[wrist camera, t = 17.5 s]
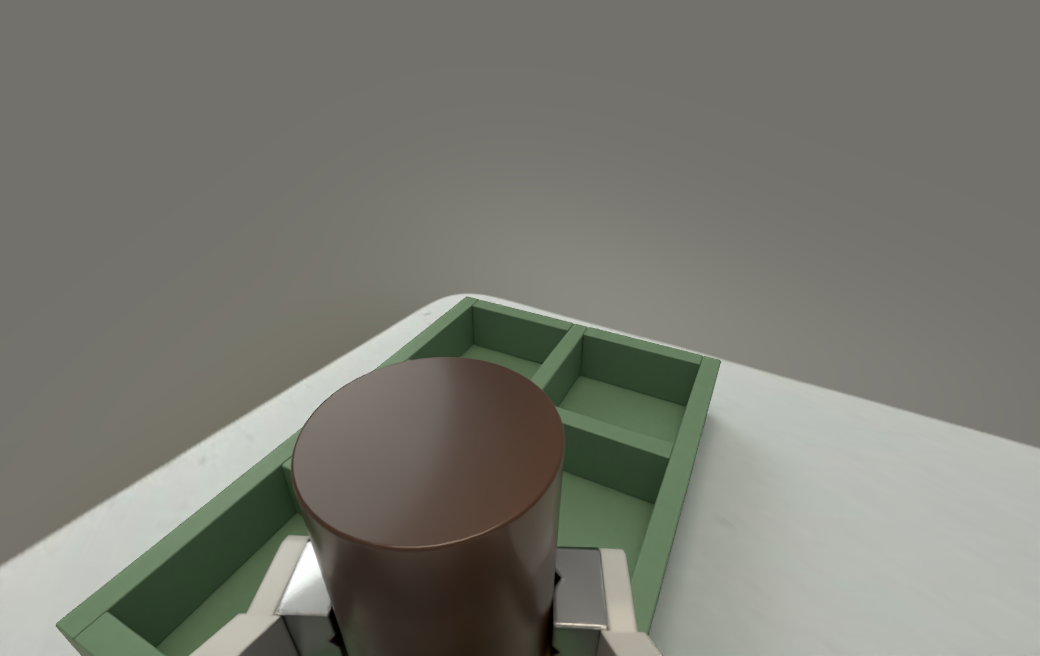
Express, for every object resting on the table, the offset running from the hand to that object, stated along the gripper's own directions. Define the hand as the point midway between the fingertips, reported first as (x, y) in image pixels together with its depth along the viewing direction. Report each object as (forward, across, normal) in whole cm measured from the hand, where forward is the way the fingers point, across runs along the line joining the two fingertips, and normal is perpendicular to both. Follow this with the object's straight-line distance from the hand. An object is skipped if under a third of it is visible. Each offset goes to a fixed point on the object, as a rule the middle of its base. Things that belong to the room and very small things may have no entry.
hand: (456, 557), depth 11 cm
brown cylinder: (-1, 0, +6) cm, 6 cm away
